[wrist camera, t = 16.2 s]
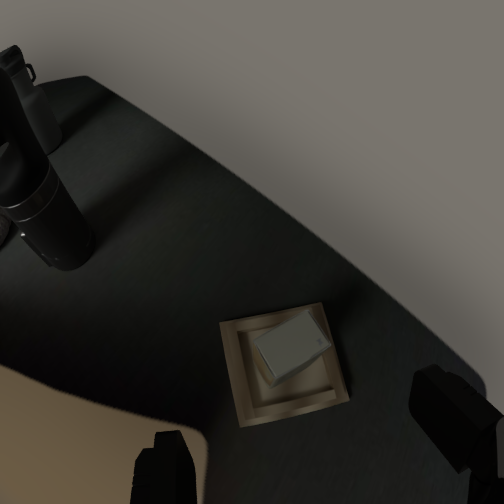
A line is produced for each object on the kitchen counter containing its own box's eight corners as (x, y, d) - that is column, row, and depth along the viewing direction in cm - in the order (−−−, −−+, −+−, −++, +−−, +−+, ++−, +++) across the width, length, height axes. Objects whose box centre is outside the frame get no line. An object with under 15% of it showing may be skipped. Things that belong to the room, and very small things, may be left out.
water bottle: (34, 139, 63) (-7, 53, 39) (66, 126, 65) (29, 34, 41) (27, 165, 59) (-23, 72, 34) (61, 151, 60) (16, 49, 36)
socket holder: (240, 427, 35) (239, 427, 33) (219, 324, 42) (218, 318, 40) (347, 401, 37) (353, 399, 34) (320, 304, 43) (323, 297, 41)
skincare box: (293, 338, 40) (310, 305, 29) (311, 366, 38) (335, 343, 28) (249, 362, 38) (250, 338, 28) (267, 391, 37) (275, 379, 26)
